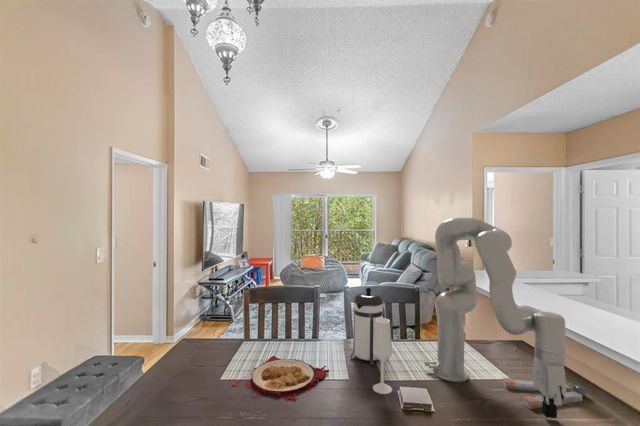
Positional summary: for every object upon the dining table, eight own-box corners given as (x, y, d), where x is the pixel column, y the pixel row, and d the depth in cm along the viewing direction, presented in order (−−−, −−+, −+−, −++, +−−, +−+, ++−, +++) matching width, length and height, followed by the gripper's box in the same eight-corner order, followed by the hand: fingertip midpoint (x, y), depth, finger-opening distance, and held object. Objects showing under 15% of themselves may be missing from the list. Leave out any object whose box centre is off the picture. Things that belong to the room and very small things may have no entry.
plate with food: (273, 360, 137) (273, 351, 137) (329, 373, 124) (329, 364, 124) (231, 389, 115) (231, 379, 115) (294, 408, 103) (294, 397, 103)
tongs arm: (574, 396, 109) (574, 389, 109) (582, 401, 107) (582, 394, 107) (523, 404, 105) (523, 396, 105) (530, 409, 102) (530, 401, 102)
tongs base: (579, 390, 113) (579, 382, 113) (588, 398, 108) (589, 390, 108) (502, 384, 117) (502, 376, 117) (508, 391, 112) (508, 383, 112)
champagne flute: (379, 381, 118) (380, 315, 118) (395, 388, 114) (396, 320, 114) (368, 388, 114) (369, 320, 114) (384, 396, 109) (385, 324, 109)
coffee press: (392, 367, 129) (392, 292, 129) (351, 366, 130) (352, 291, 130) (384, 348, 147) (384, 282, 147) (348, 348, 147) (349, 282, 147)
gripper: (524, 344, 105) (524, 400, 105) (549, 365, 91) (549, 431, 91) (550, 345, 104) (550, 403, 104) (579, 367, 89) (579, 434, 89)
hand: (549, 415), depth 97 cm, fingers closed
